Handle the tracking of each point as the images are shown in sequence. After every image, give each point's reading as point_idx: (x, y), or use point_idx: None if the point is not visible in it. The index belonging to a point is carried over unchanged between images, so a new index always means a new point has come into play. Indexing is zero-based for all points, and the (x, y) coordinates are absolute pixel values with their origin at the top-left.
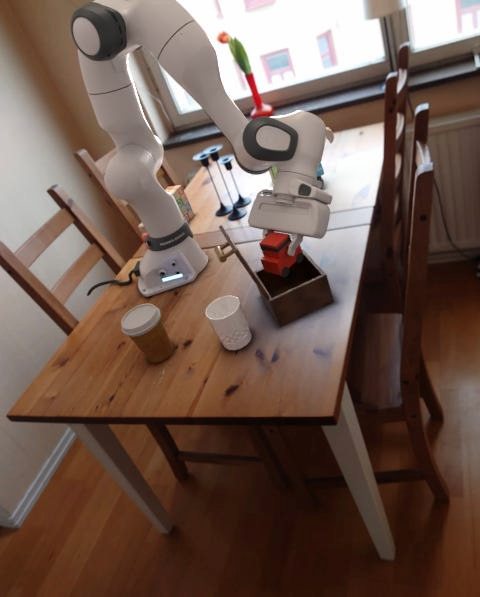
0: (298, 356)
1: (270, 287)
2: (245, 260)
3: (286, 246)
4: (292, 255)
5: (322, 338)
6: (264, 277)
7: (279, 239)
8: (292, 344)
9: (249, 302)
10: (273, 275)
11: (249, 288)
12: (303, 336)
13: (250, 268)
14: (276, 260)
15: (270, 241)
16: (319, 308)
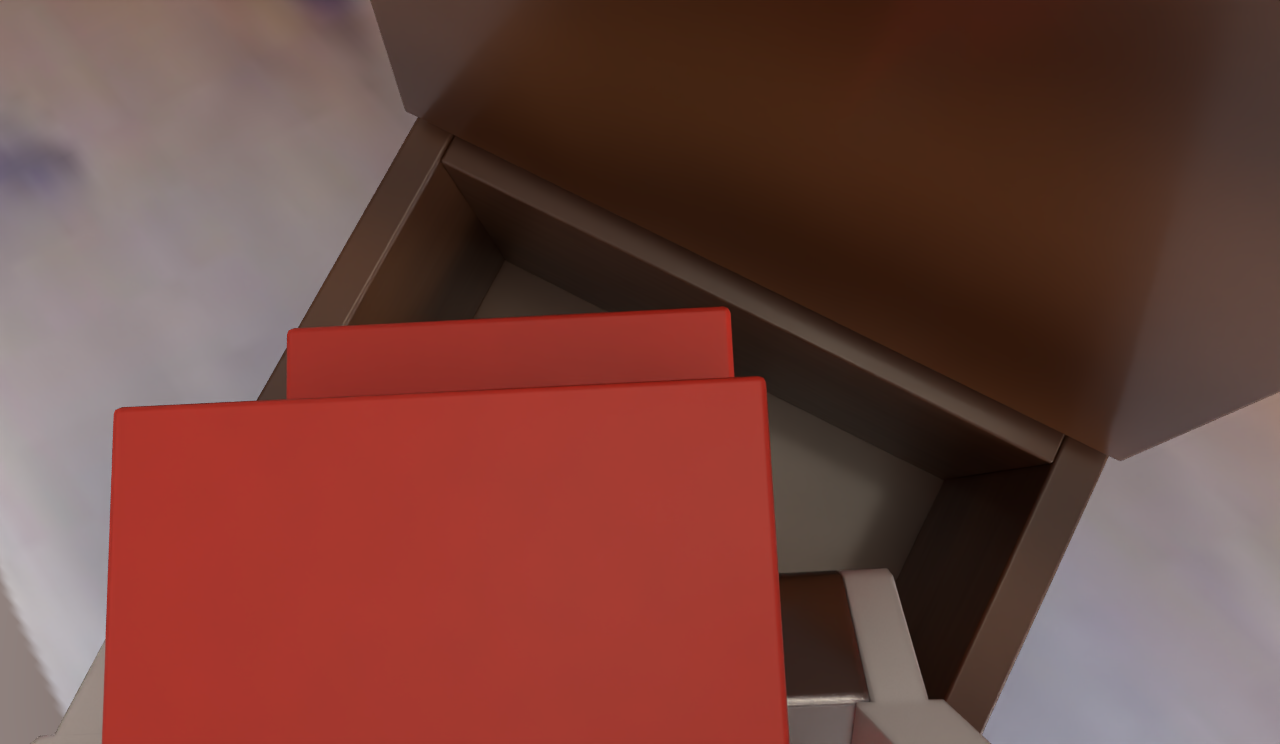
0: (146, 62)
1: (919, 560)
2: (1073, 224)
3: None
4: None
5: (81, 293)
6: (973, 544)
7: (225, 724)
8: (269, 134)
9: None
10: (916, 646)
11: (1231, 529)
12: (239, 242)
13: (716, 35)
14: (342, 387)
15: (444, 549)
16: None
